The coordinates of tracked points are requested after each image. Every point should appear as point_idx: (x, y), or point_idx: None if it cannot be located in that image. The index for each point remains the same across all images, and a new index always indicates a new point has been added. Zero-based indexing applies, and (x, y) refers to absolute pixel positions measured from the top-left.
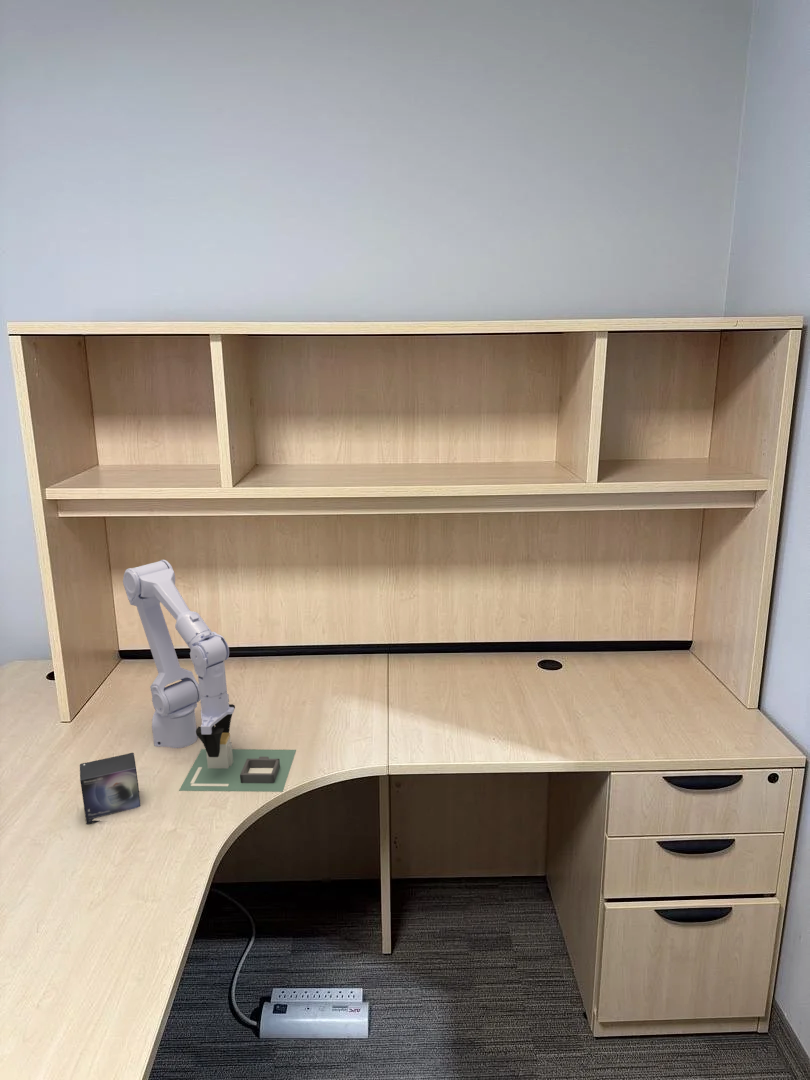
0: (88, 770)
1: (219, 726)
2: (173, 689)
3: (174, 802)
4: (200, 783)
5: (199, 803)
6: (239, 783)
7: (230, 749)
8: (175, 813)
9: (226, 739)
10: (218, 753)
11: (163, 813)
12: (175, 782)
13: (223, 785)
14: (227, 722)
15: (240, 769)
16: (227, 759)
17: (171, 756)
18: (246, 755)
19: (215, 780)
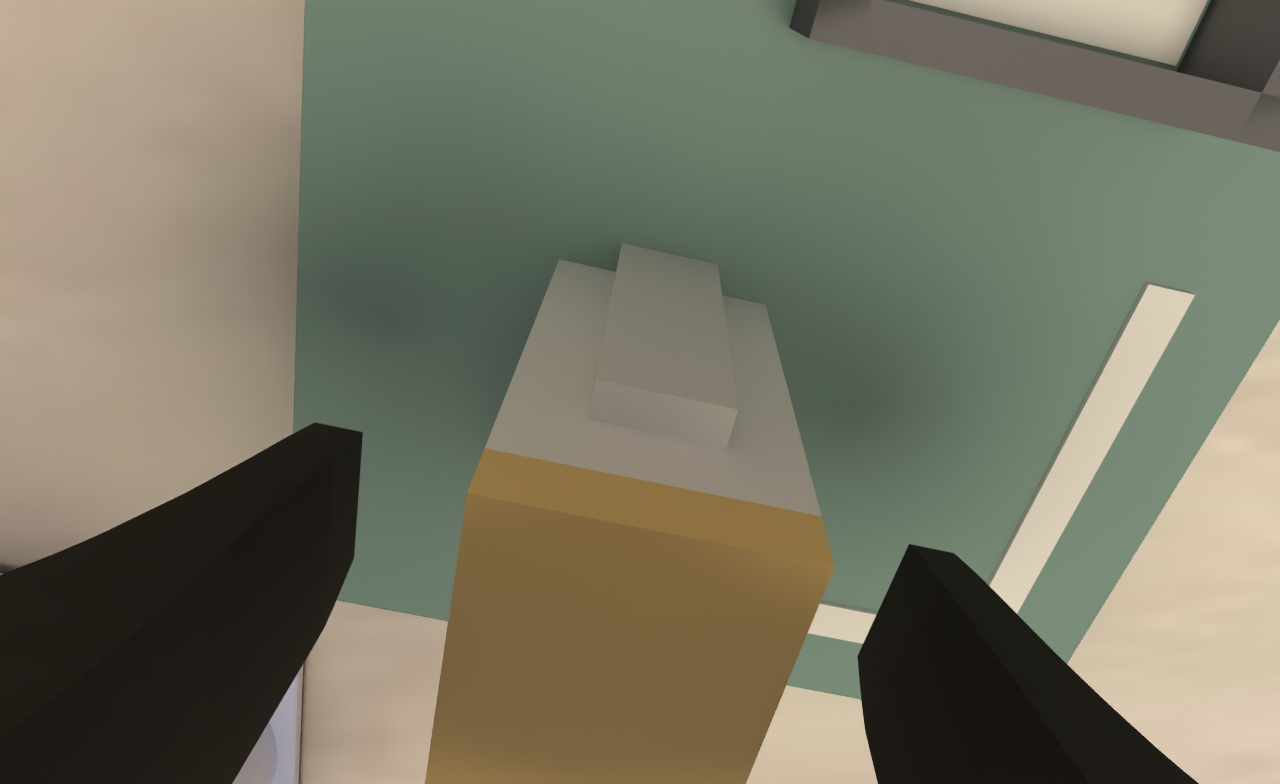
0: None
1: (241, 708)
2: None
3: None
4: (980, 572)
5: (1224, 535)
6: (1194, 142)
7: (703, 361)
8: (1270, 697)
9: (757, 549)
10: (992, 590)
11: (1215, 768)
12: (778, 721)
13: (1152, 347)
14: (176, 642)
15: (839, 137)
16: (769, 356)
17: (351, 767)
18: (479, 54)
19: (989, 436)
